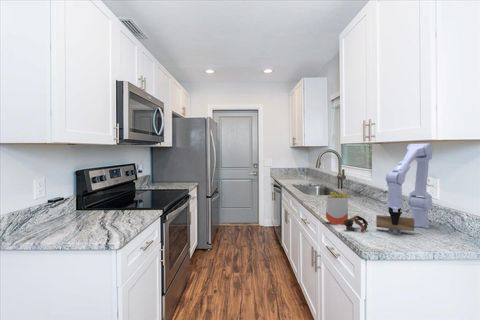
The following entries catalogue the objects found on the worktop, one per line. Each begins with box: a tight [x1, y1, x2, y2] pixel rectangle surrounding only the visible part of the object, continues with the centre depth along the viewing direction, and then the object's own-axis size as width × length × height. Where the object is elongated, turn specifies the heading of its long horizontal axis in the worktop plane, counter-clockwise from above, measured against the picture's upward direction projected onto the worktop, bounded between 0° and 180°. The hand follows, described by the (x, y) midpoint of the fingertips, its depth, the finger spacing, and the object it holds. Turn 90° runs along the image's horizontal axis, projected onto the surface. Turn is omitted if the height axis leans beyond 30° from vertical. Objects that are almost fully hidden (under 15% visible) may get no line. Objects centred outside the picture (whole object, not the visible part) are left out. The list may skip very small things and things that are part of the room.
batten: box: [375, 214, 415, 232], centre depth 128 cm, size 4×16×6 cm, turn 61°
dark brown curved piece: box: [343, 215, 369, 233], centre depth 133 cm, size 12×10×8 cm
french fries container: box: [325, 191, 349, 226], centre depth 145 cm, size 5×11×18 cm, turn 84°
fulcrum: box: [388, 228, 402, 236], centre depth 128 cm, size 7×5×2 cm
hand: (394, 223), depth 128 cm, fingers open, 5 cm apart
